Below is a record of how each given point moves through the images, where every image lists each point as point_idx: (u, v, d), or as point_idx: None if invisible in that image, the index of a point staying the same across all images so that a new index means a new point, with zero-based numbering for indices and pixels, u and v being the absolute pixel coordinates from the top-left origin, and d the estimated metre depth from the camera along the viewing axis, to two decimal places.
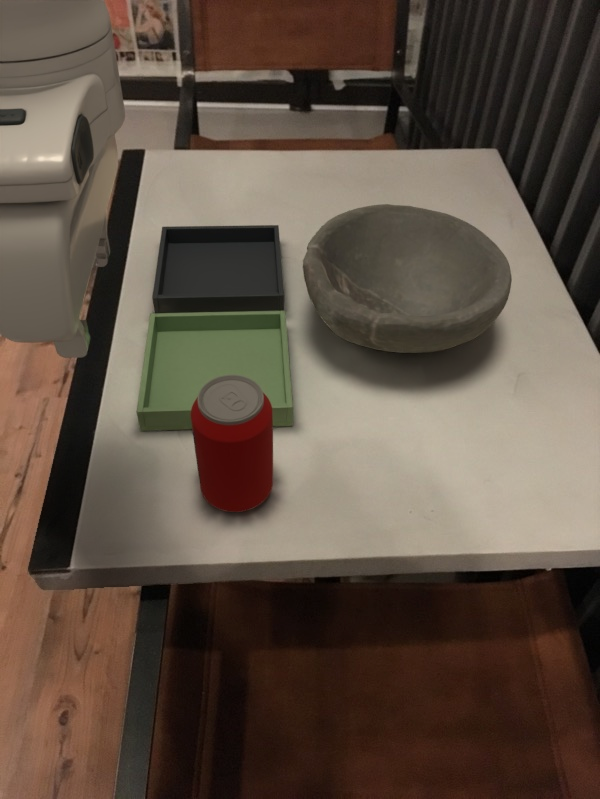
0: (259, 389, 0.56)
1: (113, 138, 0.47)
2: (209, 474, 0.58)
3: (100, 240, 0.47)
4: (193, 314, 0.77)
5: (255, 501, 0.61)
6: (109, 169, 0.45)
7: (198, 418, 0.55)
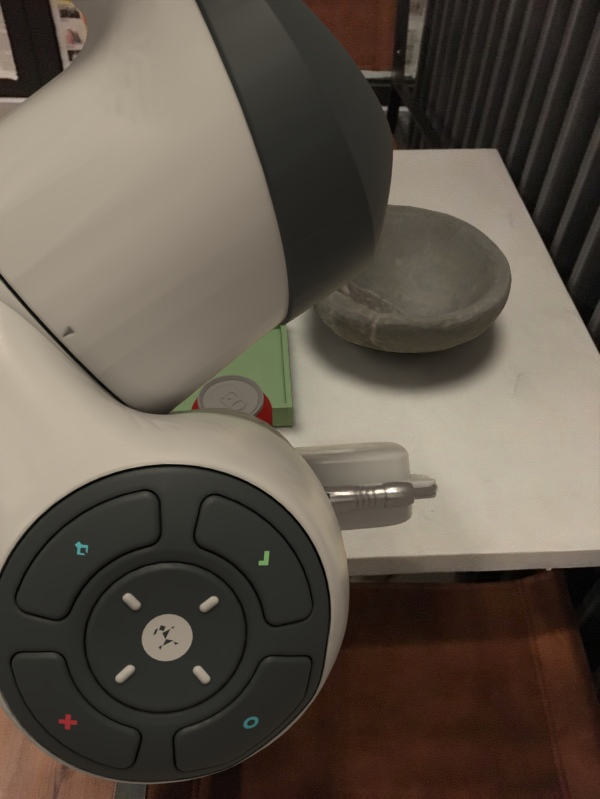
0: (259, 389, 0.56)
1: None
2: None
3: None
4: None
5: None
6: None
7: None
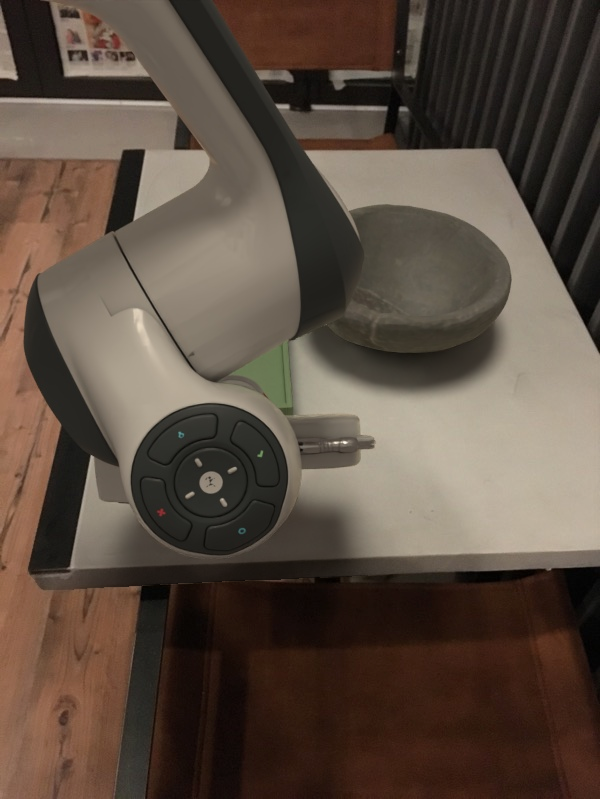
0: (259, 389, 0.56)
1: None
2: None
3: None
4: None
5: None
6: None
7: None
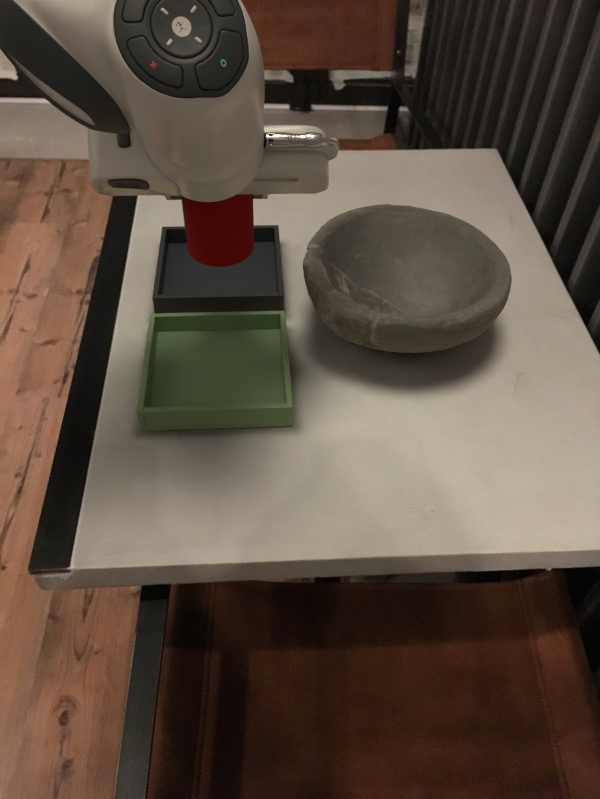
0: None
1: (315, 187, 0.59)
2: (194, 220, 0.64)
3: None
4: (193, 314, 0.77)
5: (237, 256, 0.66)
6: (280, 190, 0.59)
7: None
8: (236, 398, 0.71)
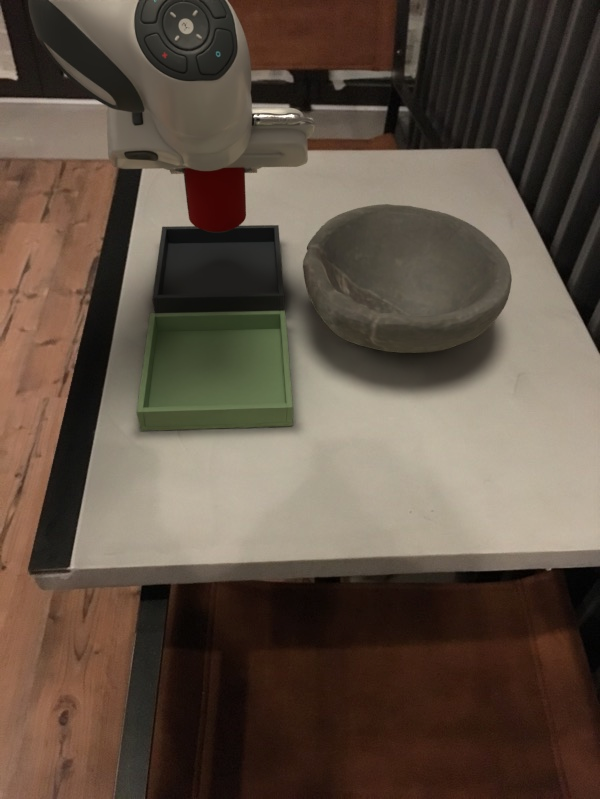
0: None
1: (296, 160, 0.70)
2: (195, 190, 0.75)
3: None
4: (193, 314, 0.77)
5: (231, 222, 0.78)
6: (267, 163, 0.70)
7: None
8: (236, 398, 0.71)
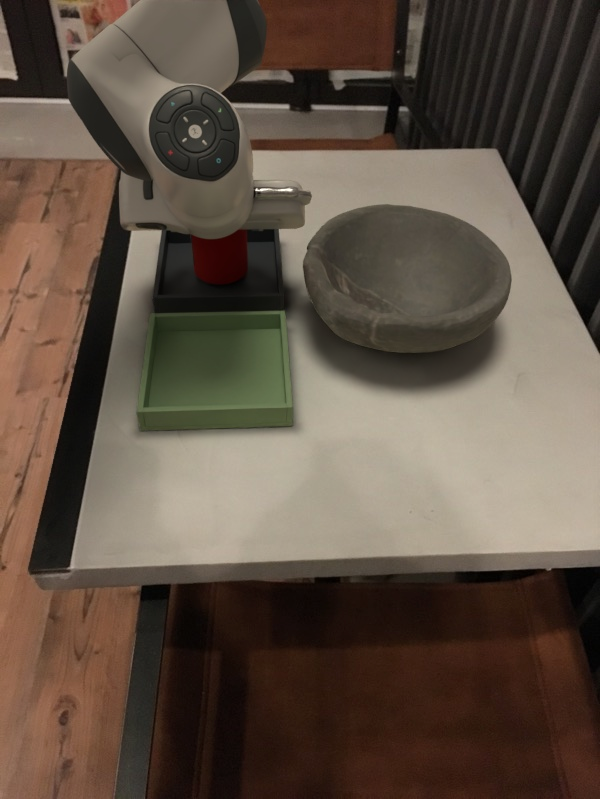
0: None
1: (294, 224, 0.75)
2: (200, 248, 0.80)
3: None
4: (193, 314, 0.77)
5: (234, 276, 0.83)
6: (267, 226, 0.76)
7: None
8: (236, 398, 0.71)
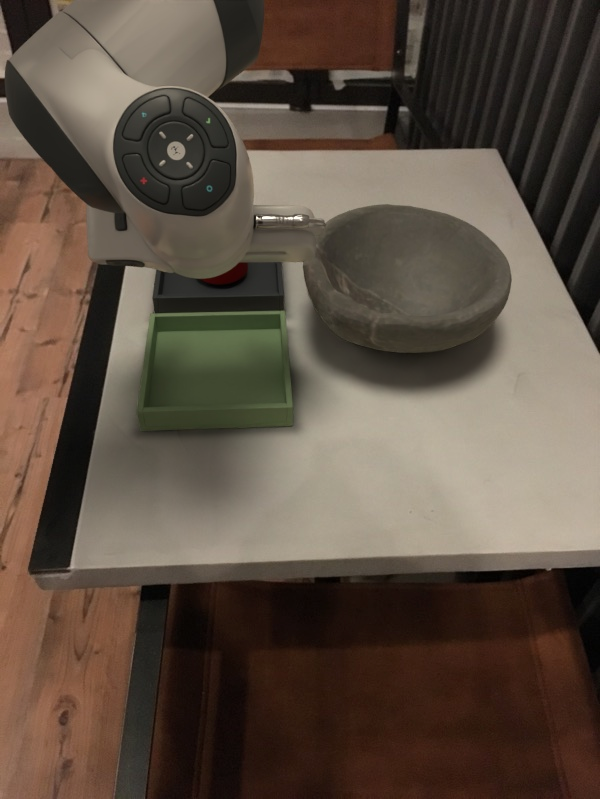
0: None
1: (302, 258, 0.62)
2: None
3: None
4: (193, 314, 0.77)
5: (234, 276, 0.83)
6: (270, 259, 0.62)
7: None
8: (236, 398, 0.71)
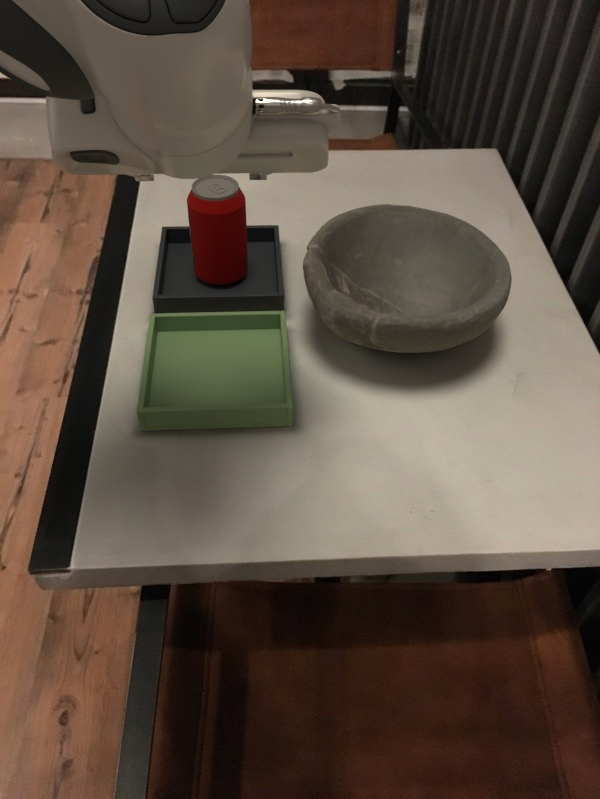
0: (235, 182, 0.78)
1: (313, 164, 0.51)
2: (200, 248, 0.80)
3: None
4: (193, 314, 0.77)
5: (234, 276, 0.83)
6: (273, 167, 0.52)
7: (192, 199, 0.77)
8: (236, 398, 0.71)
